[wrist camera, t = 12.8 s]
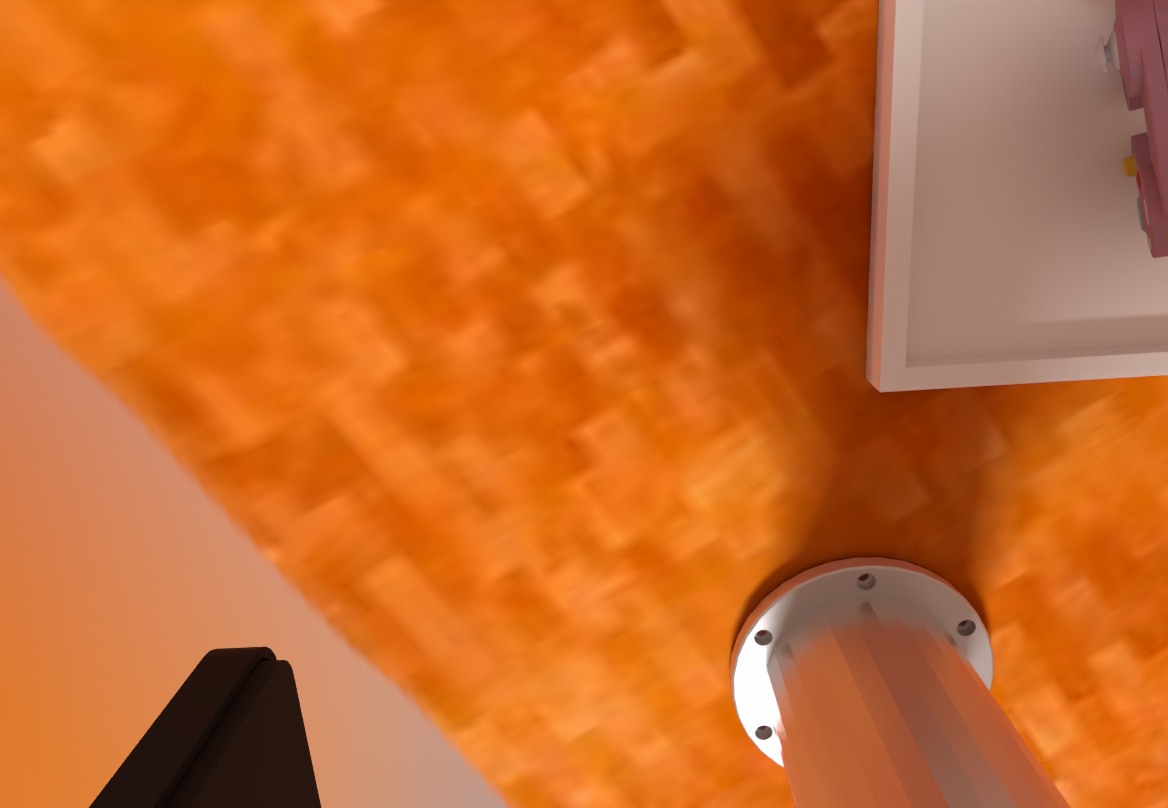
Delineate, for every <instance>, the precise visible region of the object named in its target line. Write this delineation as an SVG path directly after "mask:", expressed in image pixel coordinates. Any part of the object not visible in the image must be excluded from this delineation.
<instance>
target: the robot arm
mask: <svg viewBox="0 0 1168 808" xmlns="http://www.w3.org/2000/svg"><path fill="white" fill-rule="evenodd" d="M863 574H864V575H863ZM861 575H862V576H861ZM993 676H994V658H993V650H992V646H991V642H990V638H989V634H988V632H987V630H986V628H985V626H984V624H983V623H982V621H981V619H980V617H979V615H978V613H977V612H976V611H975V610H974V608H973V607H972V606H971V604H970V603H969V602H968V601H967V599H966V598H965V597H964V596H963V595H962V594H961V593H960V592H959V591H958V590H957V589H956V588H955V587H953V586H952V585H951V584H950V583H949V582H948V581H946V580H945V579H943V578H941V577H940V576H938V575H936V574H935V573H933V572H931V571H930V570H928V569H925V568H922V567H920V566H917V565H914V564H911V563H908V562H905V561H900V560H894V559H888V558H881V557H862V558H850V559H844V560H838V561H833V562H828V563H825V564H822V565H820V566H817V567H814V568H811V569H808V570H806V571H804V572H802V573H800V574H798V575H796V576H795V577H793V578H791V579H789V580H787V581H786V582H784V583H782V584H781V585H780V586H779V587H777V588H776V589H775V590H774V591H772V592H771V593H770V594H769V595H767V596H766V597H765V598H764V599H763V600H762V601H761V602H760V603H759V605H758V606H757V607H756V608H755V609H754V610H753V612H752V613H751V614H750V615H749V616H748V618H747V620H746V622H745V623H744V625H743V627H742V629H741V631H740V632H739V634H738V636H737V639H736V642H735V645H734V649H733V652H732V655H731V664H730V674H729V677H730V685H731V692H732V698H733V701H734V705H735V709H736V713H737V716H738V718H739V720H740V722H741V724H742V726H743V728H744V730H745V732H746V734H747V735H748V737H749V738H750V739H751V740H752V741H753V743H754V744H755V745H756V746H757V747H758V749H759V750H760V751H761V752H763V753H764V754H765V755H766V756H768V757H769V758H770V759H771V760H773V761H774V762H775V763H776V764H778V765H780V766H782V767H784V768H785V771H786V775H787V779H788V782H789V786H790V789H791V793H792V796H793V800H794V803H795V807H796V808H1071V807H1070V806H1069V805H1068V803H1067V802H1066V800H1065V799H1064V797H1063V796H1062V794H1061V793H1060V792H1059V790H1058V789H1057V787H1056V786H1055V784H1054V783H1053V782H1052V780H1051V779H1050V777H1049V776H1048V774H1047V773H1046V771H1045V770H1044V769H1043V767H1042V766H1041V764H1040V763H1039V761H1038V760H1037V758H1036V757H1035V756H1034V754H1033V753H1032V751H1031V750H1030V748H1029V747H1028V745H1027V744H1026V743H1025V741H1024V740H1023V738H1022V737H1021V735H1020V734H1019V733H1018V731H1017V730H1016V728H1015V727H1014V725H1013V724H1012V722H1011V721H1010V720H1009V718H1008V717H1007V715H1006V714H1005V712H1004V711H1003V709H1002V708H1001V707H1000V705H999V704H998V702H997V701H996V699H995V698H994V696H993V695H992V694H991V692H990V690H991V685H992V681H993ZM89 808H321V804H320V799H319V795H318V790H317V785H316V780H315V775H314V770H313V766H312V761H311V756H310V751H309V746H308V742H307V737H306V732H305V727H304V722H303V717H302V713H301V708H300V703H299V698H298V693H297V688H296V684H295V679H294V675H293V671H292V667H291V665H290V664H289V663H288V661H285V660H277V659H276V656H275V654H274V653H273V651H272V650H271V649H269V648H267V647H249V648H227V649H226V648H225V649H214V650H211V651H209V652H208V653H207V654H206V655H205V656H204V657H203V659H202V660H201V661H200V662H199V664H198V665H197V666H196V668H195V669H194V670H193V672H192V673H191V674H190V676H189V677H188V678H187V680H186V681H185V682H184V684H183V685H182V686H181V687H180V689H179V690H178V691H177V693H176V694H175V695H174V697H173V698H172V699H171V701H170V702H169V703H168V705H167V706H166V707H165V708H164V710H163V711H162V712H161V714H160V715H159V716H158V718H157V719H156V720H155V722H154V723H153V724H152V726H151V727H150V728H149V729H148V731H147V732H146V734H145V735H144V736H143V737H142V739H141V740H140V741H139V743H138V744H137V745H136V747H135V748H134V749H133V750H132V752H131V753H130V754H129V756H128V757H127V758H126V760H125V761H124V762H123V764H122V765H121V766H120V768H119V769H118V770H117V771H116V773H115V774H114V776H113V777H112V778H111V779H110V781H109V782H108V783H107V785H106V786H105V787H104V789H103V790H102V791H101V793H100V794H99V795H98V796H97V798H96V799H95V800H94V802H93V803H92V804H91V806H90V807H89Z"/></svg>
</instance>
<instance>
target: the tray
mask: <svg viewBox="0 0 1168 808" xmlns="http://www.w3.org/2000/svg"><path fill="white" fill-rule="evenodd" d="M1115 20H1116V12H1115V0H879V16H878V44H877V72H876V100H875V128H874V156H873V184H872V212H871V240H870V268H869V296H868V325H867V353H866V380H867V381H868V382H869V383H870V384H872V385H873V386H874V387H875V388H876V389H877V390H878V391H879V392H894V391H910V390H927V389H944V388H960V387H977V386H993V385H1010V384H1026V383H1043V382H1060V381H1076V380H1093V379H1109V378H1126V377H1142V376H1159V375H1168V256H1166V257H1158V258H1153V257H1152V255H1151V252H1150V248H1149V246H1148V241H1147V234H1146V233H1145V232H1144V231H1143V230H1141V226H1140V221H1139V215H1138V208H1137V198H1138V197H1139V191H1138V187H1137V182H1136V176H1130V177H1127V176H1126V175H1125V174H1124V171H1123V160H1124V159H1125V158H1126V157H1130V156H1132V150H1131V136H1133V135H1137V134H1141V133H1145V132H1146V121H1145V114H1144V108H1140V109H1136V110H1133V111H1129V110H1128V108H1127V104H1126V99H1125V94H1124V88H1123V81H1122V75H1121V74H1120V72H1119V70H1118V69H1116V68H1115V67H1114V66H1113V65H1112V63H1111V62H1110V61H1107V69H1108V70H1107V72H1106V73H1105V72H1104V71H1103V70H1102V69H1101V68H1100V66H1098V65H1097V61H1096V55H1095V47H1096V46H1097V42H1098V39H1099V38H1100V37H1102V38H1103V42H1104V45H1105V46H1106V45H1107V43H1108V41H1109V38H1110V35H1111V33H1112V32H1113V29H1114V23H1115Z"/></svg>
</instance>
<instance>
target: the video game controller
mask: <svg viewBox="0 0 1168 808" xmlns="http://www.w3.org/2000/svg"><path fill="white" fill-rule="evenodd" d="M1115 12H1116V20H1115V23H1114V29H1113V32H1112V33H1111V35H1110V38H1109V41H1108V43H1107V45H1106V46H1105V45H1104V42H1103V38H1102V37H1100V38H1099V39H1098V42H1097V46H1096V47H1095V55H1096V61H1097V65H1098V66H1100V68H1101V69H1102V70H1103V71H1104V72H1105V73H1106V72H1107V70H1108V69H1107V61H1110V62H1111V63H1112V65H1113V66H1114V67H1115V68H1116V69H1118V70H1119V72H1120V74H1121V75H1122V81H1123V88H1124V94H1125V99H1126V104H1127V108H1128V110H1129V111H1133V110H1136V109H1140V108H1144V114H1145V121H1146V132H1145V133H1141V134H1137V135H1133V136H1131V150H1132V156H1130V157H1126V158H1125V159H1124V160H1123V171H1124V174H1125V175H1126V176H1127V177H1130V176H1136V182H1137V187H1138V191H1139V197H1138V198H1137V208H1138V215H1139V221H1140V226H1141V230H1143V231H1144V232H1145V233H1146V234H1147V241H1148V246H1149V248H1150V252H1151V255H1152V257H1153V258H1158V257H1166V256H1168V0H1115Z"/></svg>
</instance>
